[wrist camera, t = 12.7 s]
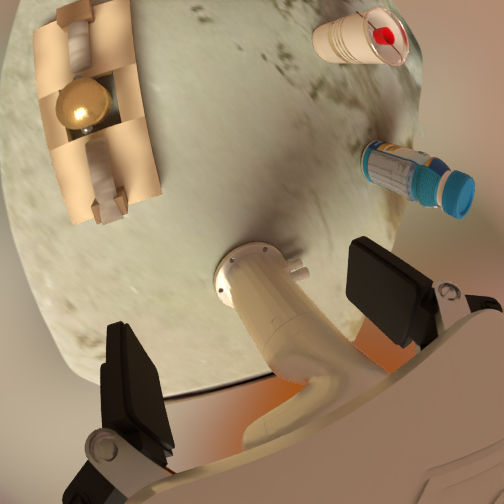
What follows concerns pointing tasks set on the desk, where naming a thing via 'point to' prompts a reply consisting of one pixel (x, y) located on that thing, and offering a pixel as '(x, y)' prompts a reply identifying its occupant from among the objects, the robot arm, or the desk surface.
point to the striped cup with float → (363, 39)
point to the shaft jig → (106, 140)
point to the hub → (83, 104)
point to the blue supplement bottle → (418, 177)
